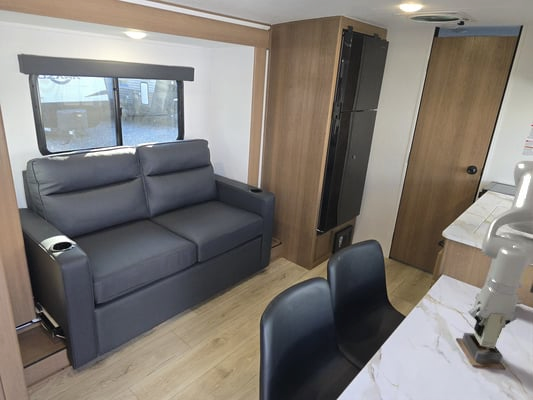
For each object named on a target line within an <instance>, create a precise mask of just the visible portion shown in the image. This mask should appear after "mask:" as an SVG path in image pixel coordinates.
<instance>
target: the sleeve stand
mask: <svg viewBox="0 0 533 400" xmlns="http://www.w3.org/2000/svg"><path fill="white" fill-rule="evenodd" d="M455 341H456V342H457V344H458V346H459V347H460V349H461V350H462V352H463V354H464V355H465V356H466V359H467V360H468V362H469V363H470V364H471V366H472V367H473V368H474V367H475V368H483V369H495V370H502V371H505V370H506V366H505V365H504V363H503V362H502V361H501V360H502V358H503V354H502V353H501V351H499V349H498V348H497V347H496V346H497V345H496V346H495V348H489V347H484V346H481V345H480V344H479V342H478V340H477V339H476V337H475V335H474V333H471V332H464V333H463V336H462V338H459V337H456V338H455Z"/></svg>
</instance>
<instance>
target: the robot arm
mask: <svg viewBox="0 0 533 400" xmlns="http://www.w3.org/2000/svg"><path fill="white" fill-rule="evenodd" d="M513 180H514V185H515V193H514V194H515V195H514V198H513V200H512V204H511V207H510V208H509V209H508V210H505V211H504V212H501V213H500V214H498V215H497V216H496V217H494V218H493V219H492V220H491V221H490V223H489V224H488V226H487V229H486V232H485V233H484V237H483V240H482V244H481V252H482V253H483V255H484V256H486V257H489V258H490V259H491V258H492V259H491V263H490V267H489V270H488V272H487V275H486V279H485V282H484V284H483V287H482V288H481V290H480V291H479V293H477V294H476V295H475V303H474V306H473V307H472V308H471V309H469V311H468V314H469V316H471V317H472V318H473V319H474V320H475V325H474V328H473V330H474V333H475V332H476V333H477V334H478V336H481V335H482V332H483V329H484V325H483V324H484V323H485V321H486V320H487V318H489V316H490V313H493V314H502V315H505V319H504V322H503V325H502V328H501V331H500V334H499V337H498V339H499V338H500V335H501V333H502V330H503V329H504V328H506V325H509V324H511V322H512V323H513V322H514V321H515V320H517V319H518V318H517V315H516V314H515V312H516V308H517V305H521V304H522V301H521V299H518V297H519V295H518V290H519V289H521V288H522V287H523V285H522V284H521V281H522V279H523V277H524V272H525V270H526V268H527V267H529V266H531V265H533V237H529V236H527V235H523V234H519V233H515V232H509V231H505V232H501V233H499V234H497V232H498V230H499V228H501V227H503V226H505V225H507V226H508V227H509V228H510V229H512V230H514V231H517V232H520V233H521V232H522V233H525V234H528V235H532V236H533V161H532V160H522V161H518V162H517V163H516V165H515V166H514V171H513ZM481 317H482V319H481ZM480 319H481V320H480Z"/></svg>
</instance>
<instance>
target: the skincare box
mask: <svg viewBox="0 0 533 400" xmlns="http://www.w3.org/2000/svg"><path fill="white" fill-rule="evenodd" d="M481 319H482V317H481ZM481 319H480V320H481ZM504 319H505V315H502V314H493V313H490V316H489V318H487V320H486V321H485V323H484V324H483V325H484V329H483V332H482V335H481V336H478V334H477V333H476V332H475V331H474V333H473V334H474V335H475V337H476V339H477V340H478V342H479V344H480V345H481V346H484V347H489V348H495V346H497V342H498V339H499V338H500V335H501V333H500V331H501V332H502V330H501V328H502V325H503V322H504ZM502 329H503V328H502ZM499 334H500V335H499ZM498 337H499V338H498Z"/></svg>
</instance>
